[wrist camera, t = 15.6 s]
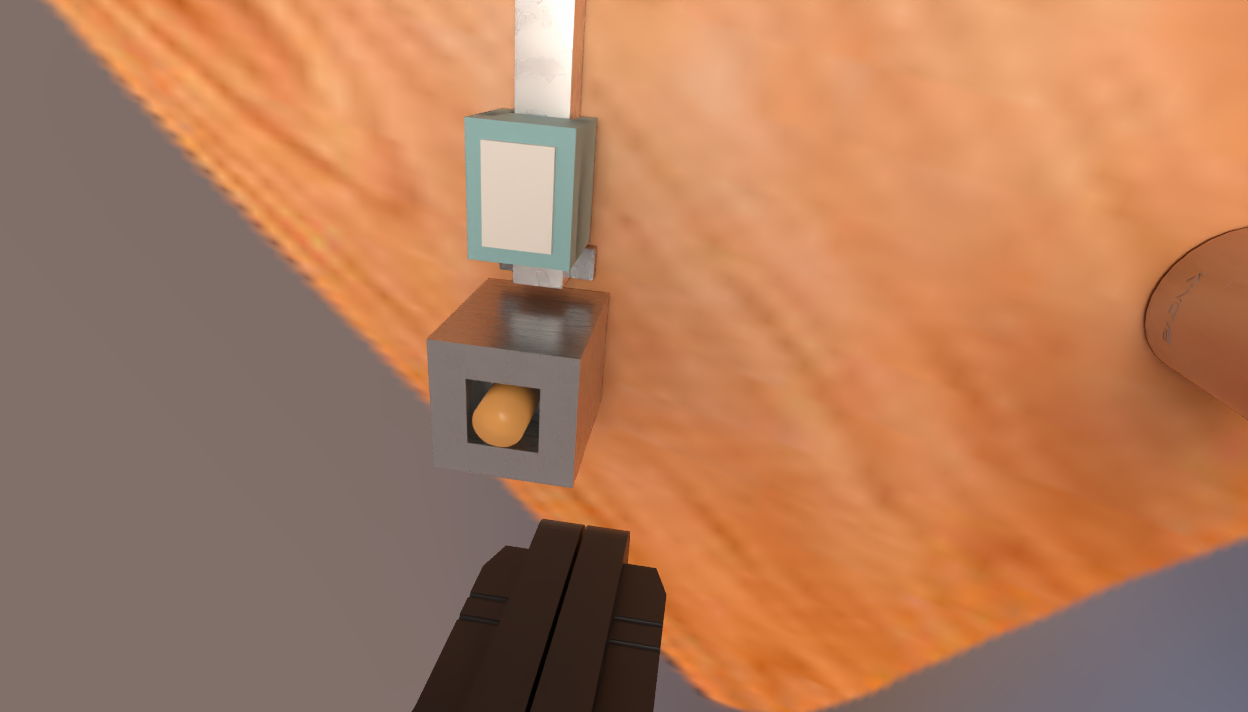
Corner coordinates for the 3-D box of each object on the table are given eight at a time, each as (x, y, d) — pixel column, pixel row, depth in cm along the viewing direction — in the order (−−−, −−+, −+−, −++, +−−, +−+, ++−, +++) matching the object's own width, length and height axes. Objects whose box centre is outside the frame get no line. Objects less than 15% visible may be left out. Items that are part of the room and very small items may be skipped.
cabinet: (609, 293, 41) (580, 359, 32) (600, 400, 44) (572, 488, 35) (478, 276, 41) (413, 337, 32) (480, 384, 45) (421, 465, 36)
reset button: (544, 368, 36) (524, 404, 32) (543, 410, 37) (523, 450, 33) (497, 361, 36) (471, 397, 32) (497, 403, 37) (472, 443, 34)
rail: (639, -385, 27) (631, -434, 25) (595, 276, 40) (586, 292, 38) (504, -391, 28) (482, -439, 25) (503, 265, 41) (488, 279, 38)
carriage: (597, 118, 35) (574, 129, 29) (589, 241, 38) (567, 273, 32) (502, 108, 35) (461, 117, 30) (502, 231, 38) (465, 261, 33)
